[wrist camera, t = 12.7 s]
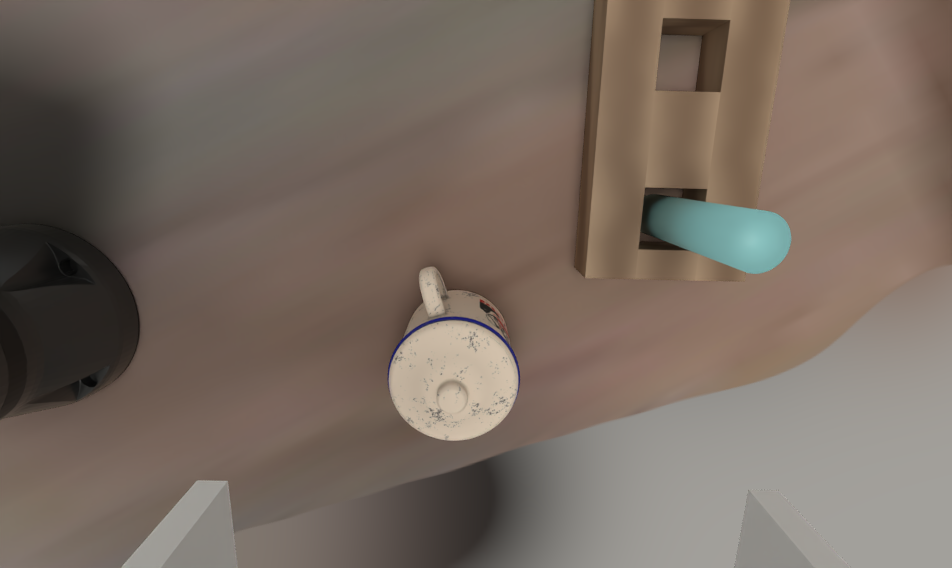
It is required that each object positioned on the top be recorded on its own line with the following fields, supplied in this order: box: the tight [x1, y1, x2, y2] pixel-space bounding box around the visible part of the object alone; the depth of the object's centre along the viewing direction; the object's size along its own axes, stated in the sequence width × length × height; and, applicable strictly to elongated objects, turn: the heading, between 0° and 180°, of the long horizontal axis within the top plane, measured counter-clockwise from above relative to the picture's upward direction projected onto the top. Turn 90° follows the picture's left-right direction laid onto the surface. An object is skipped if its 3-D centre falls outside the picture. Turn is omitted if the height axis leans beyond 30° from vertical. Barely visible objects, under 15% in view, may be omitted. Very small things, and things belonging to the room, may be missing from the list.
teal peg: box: [640, 194, 791, 274], centre depth 32 cm, size 3×3×15 cm
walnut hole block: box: [574, 0, 790, 282], centre depth 36 cm, size 12×20×4 cm, turn 179°
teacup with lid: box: [388, 266, 520, 441], centre depth 35 cm, size 12×9×12 cm
